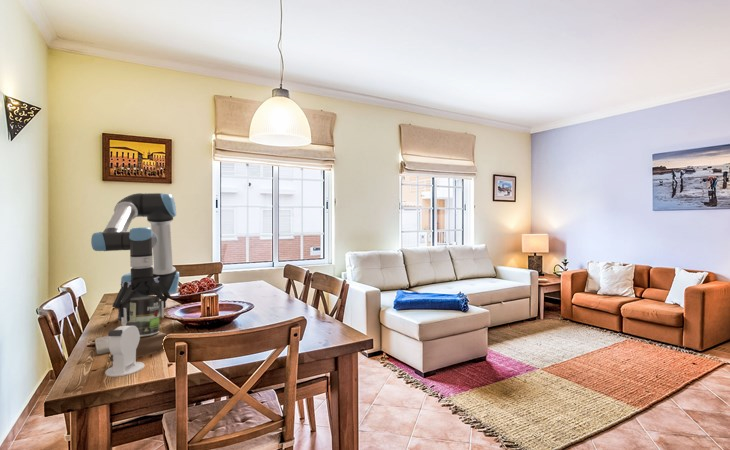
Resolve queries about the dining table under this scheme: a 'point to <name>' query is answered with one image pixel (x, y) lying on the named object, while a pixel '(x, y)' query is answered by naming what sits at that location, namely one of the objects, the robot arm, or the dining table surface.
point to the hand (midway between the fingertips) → (143, 320)
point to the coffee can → (145, 314)
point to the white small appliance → (124, 350)
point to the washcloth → (102, 344)
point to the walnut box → (150, 344)
